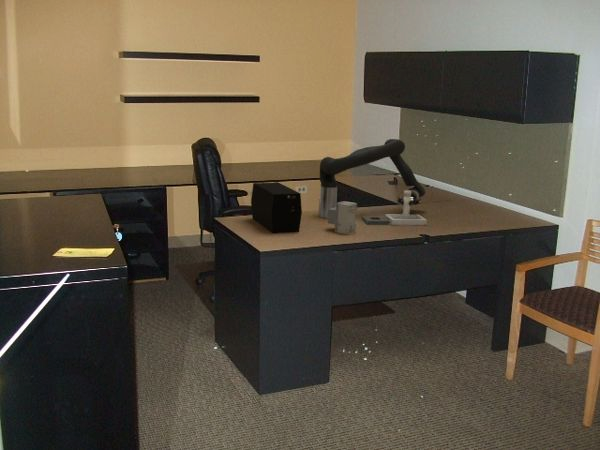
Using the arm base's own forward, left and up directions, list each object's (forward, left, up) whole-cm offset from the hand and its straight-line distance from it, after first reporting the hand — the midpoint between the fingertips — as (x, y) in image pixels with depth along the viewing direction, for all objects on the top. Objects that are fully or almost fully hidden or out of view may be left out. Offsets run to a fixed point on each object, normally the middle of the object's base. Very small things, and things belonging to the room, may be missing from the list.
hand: (406, 203), depth 360 cm
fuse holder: (-16, +3, -11) cm, 20 cm away
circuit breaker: (-40, -16, -12) cm, 44 cm away
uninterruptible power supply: (-72, -5, -12) cm, 73 cm away
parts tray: (+1, +2, -11) cm, 12 cm away
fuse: (+1, +3, -8) cm, 9 cm away
